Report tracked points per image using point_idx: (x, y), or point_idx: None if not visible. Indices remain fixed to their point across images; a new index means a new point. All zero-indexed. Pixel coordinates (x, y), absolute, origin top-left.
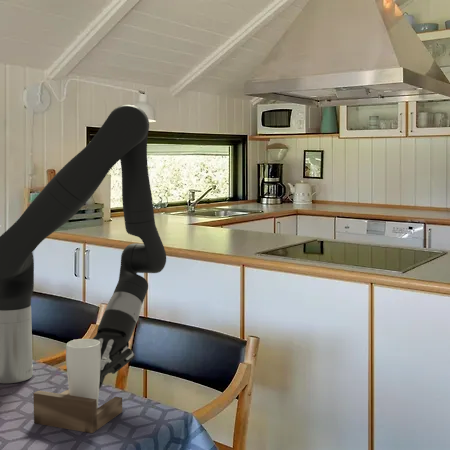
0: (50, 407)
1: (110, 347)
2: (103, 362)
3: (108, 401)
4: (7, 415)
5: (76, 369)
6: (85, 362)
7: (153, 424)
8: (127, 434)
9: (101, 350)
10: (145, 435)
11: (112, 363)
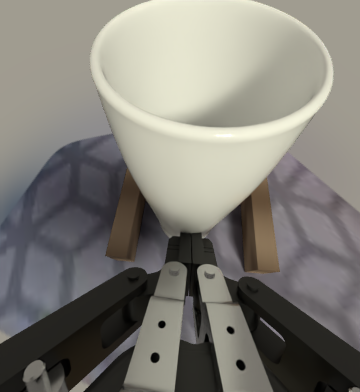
0: None
1: (133, 384)
2: (169, 290)
3: (131, 221)
4: (320, 184)
5: (189, 101)
6: (157, 84)
7: (37, 218)
8: (80, 170)
9: (214, 364)
10: (48, 174)
11: (118, 286)
